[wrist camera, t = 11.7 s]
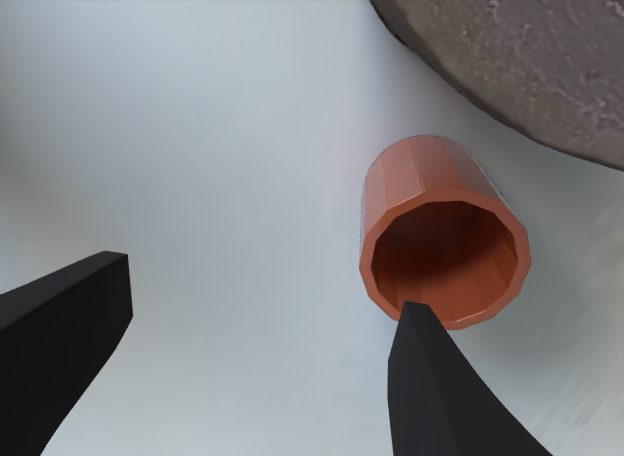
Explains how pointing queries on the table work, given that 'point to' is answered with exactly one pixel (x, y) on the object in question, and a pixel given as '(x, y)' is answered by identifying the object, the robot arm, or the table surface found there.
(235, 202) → the table surface
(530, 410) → the table surface
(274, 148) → the table surface
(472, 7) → the pillar candle
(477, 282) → the terracotta pipe segment
